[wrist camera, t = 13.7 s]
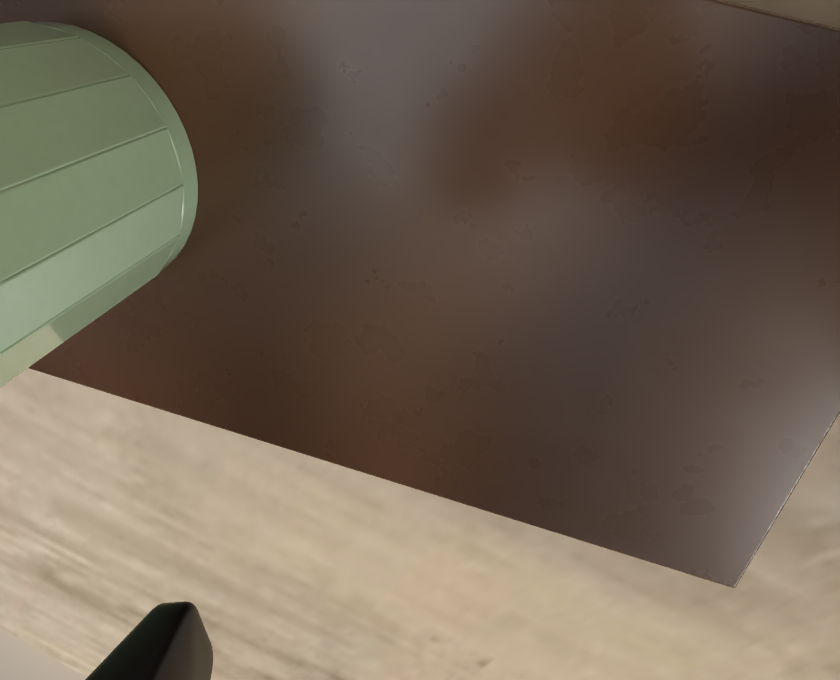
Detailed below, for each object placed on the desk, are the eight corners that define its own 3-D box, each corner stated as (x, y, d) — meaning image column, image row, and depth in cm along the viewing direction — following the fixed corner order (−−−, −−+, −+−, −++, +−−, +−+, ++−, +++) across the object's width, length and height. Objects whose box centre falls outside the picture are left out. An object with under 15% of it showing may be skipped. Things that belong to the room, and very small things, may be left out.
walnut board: (1002, 68, 15) (1040, 79, 14) (726, 552, 22) (735, 589, 21) (-123, -205, 18) (-182, -219, 16) (-60, 310, 24) (-97, 330, 23)
